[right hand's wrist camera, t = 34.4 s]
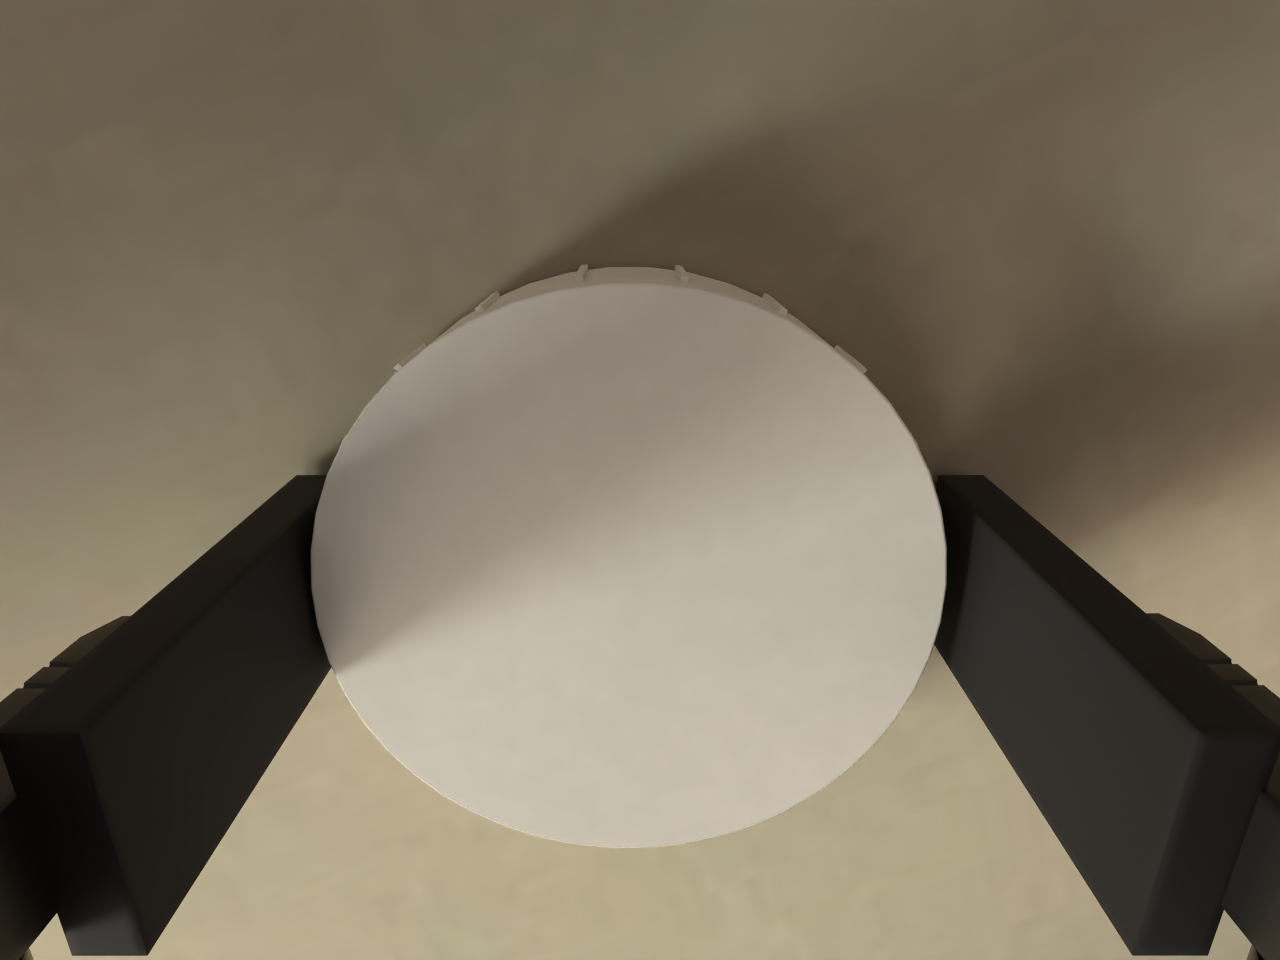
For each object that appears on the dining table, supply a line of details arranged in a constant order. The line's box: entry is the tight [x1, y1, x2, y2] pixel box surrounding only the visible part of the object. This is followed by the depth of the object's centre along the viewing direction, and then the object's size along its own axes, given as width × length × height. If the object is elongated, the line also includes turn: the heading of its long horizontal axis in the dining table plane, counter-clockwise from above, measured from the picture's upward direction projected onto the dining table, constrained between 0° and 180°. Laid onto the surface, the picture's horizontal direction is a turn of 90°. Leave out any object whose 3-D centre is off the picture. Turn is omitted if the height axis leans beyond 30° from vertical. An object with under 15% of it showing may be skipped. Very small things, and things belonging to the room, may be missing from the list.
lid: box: [311, 264, 947, 848], centre depth 13 cm, size 10×10×2 cm
